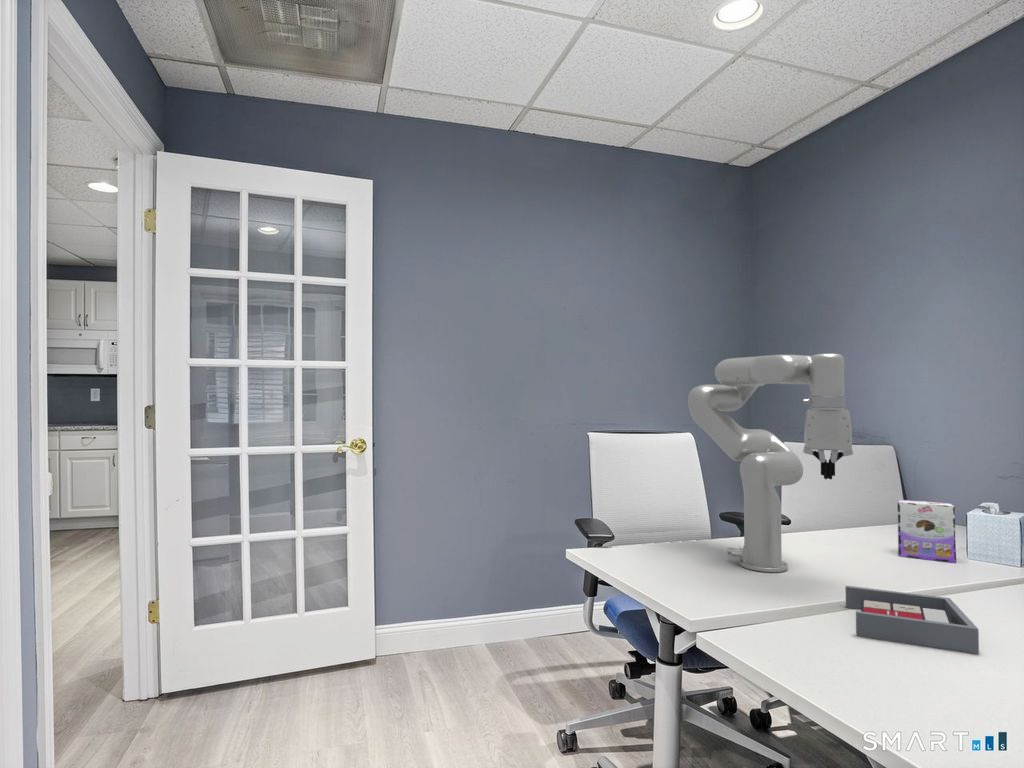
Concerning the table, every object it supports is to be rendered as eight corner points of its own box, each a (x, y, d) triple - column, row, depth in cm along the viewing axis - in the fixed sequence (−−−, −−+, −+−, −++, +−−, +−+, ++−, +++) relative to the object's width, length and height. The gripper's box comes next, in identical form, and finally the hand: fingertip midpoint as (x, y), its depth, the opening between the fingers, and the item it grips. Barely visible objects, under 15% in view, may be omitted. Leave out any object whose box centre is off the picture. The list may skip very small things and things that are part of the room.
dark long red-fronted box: (861, 597, 125) (947, 607, 117) (862, 618, 125) (948, 629, 117) (860, 613, 116) (953, 625, 108) (861, 635, 115) (955, 648, 107)
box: (856, 635, 112) (856, 612, 113) (845, 605, 129) (845, 585, 129) (978, 654, 104) (978, 629, 105) (950, 619, 121) (949, 598, 121)
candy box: (954, 559, 169) (953, 502, 169) (956, 563, 164) (955, 505, 164) (897, 552, 176) (896, 498, 177) (898, 556, 171) (897, 501, 172)
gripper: (793, 403, 141) (794, 478, 140) (864, 404, 135) (865, 482, 134) (792, 403, 148) (793, 475, 147) (860, 404, 142) (861, 478, 141)
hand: (827, 478), depth 141 cm, fingers closed
